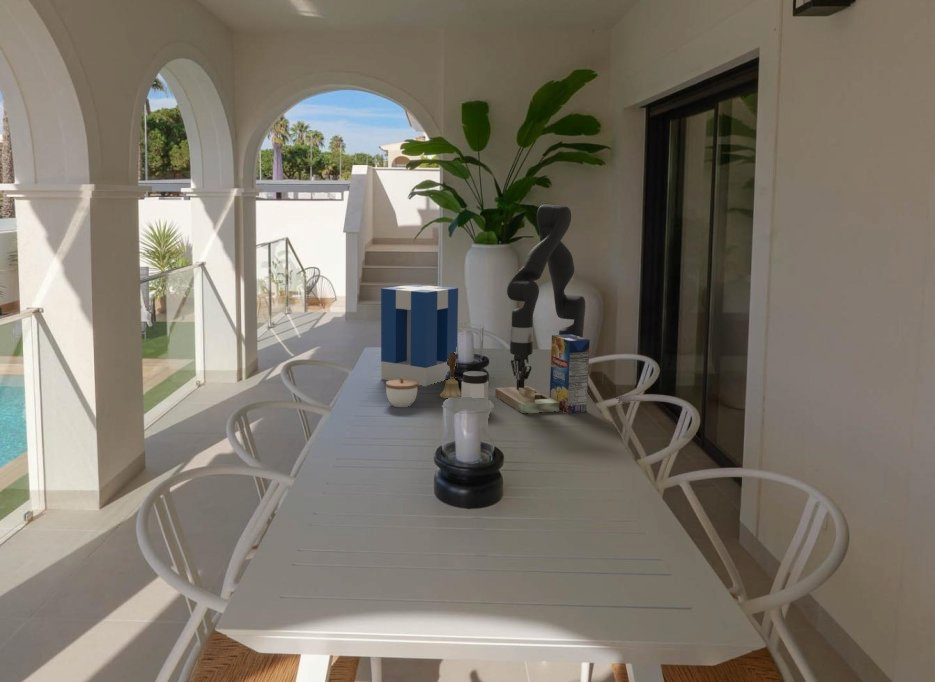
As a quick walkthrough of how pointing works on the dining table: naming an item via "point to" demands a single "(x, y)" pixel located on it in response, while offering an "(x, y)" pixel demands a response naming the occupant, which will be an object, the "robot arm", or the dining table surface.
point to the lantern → (418, 332)
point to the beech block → (527, 394)
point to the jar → (475, 384)
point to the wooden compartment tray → (540, 404)
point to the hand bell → (451, 381)
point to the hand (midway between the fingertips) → (520, 390)
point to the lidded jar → (401, 392)
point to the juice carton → (569, 372)
